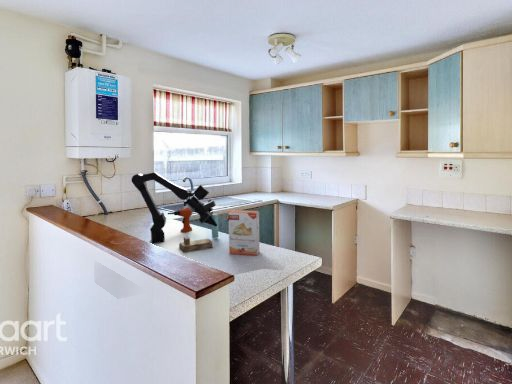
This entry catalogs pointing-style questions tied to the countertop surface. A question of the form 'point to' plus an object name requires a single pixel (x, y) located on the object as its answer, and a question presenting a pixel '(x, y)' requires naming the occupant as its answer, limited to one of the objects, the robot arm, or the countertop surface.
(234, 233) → the cracker box
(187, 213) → the toy drill
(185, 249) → the wooden frame piece
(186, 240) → the lid
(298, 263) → the countertop surface
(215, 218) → the teal cylinder
